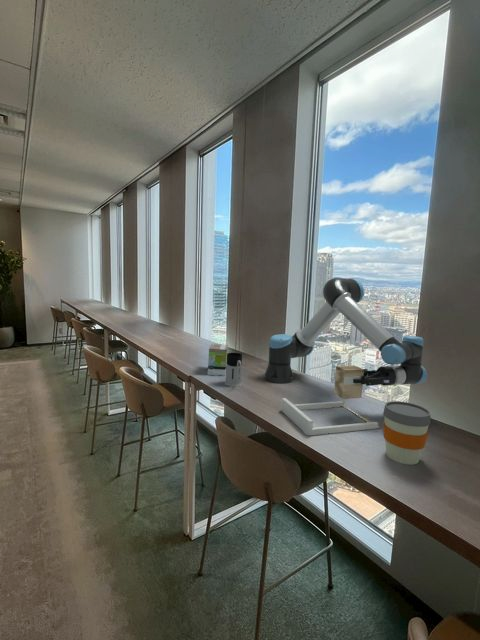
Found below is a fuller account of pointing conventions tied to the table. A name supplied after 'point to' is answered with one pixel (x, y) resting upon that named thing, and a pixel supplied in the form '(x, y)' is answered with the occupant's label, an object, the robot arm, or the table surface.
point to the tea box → (217, 359)
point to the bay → (307, 423)
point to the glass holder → (234, 370)
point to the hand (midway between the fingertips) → (339, 378)
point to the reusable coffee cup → (405, 431)
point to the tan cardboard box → (351, 389)
